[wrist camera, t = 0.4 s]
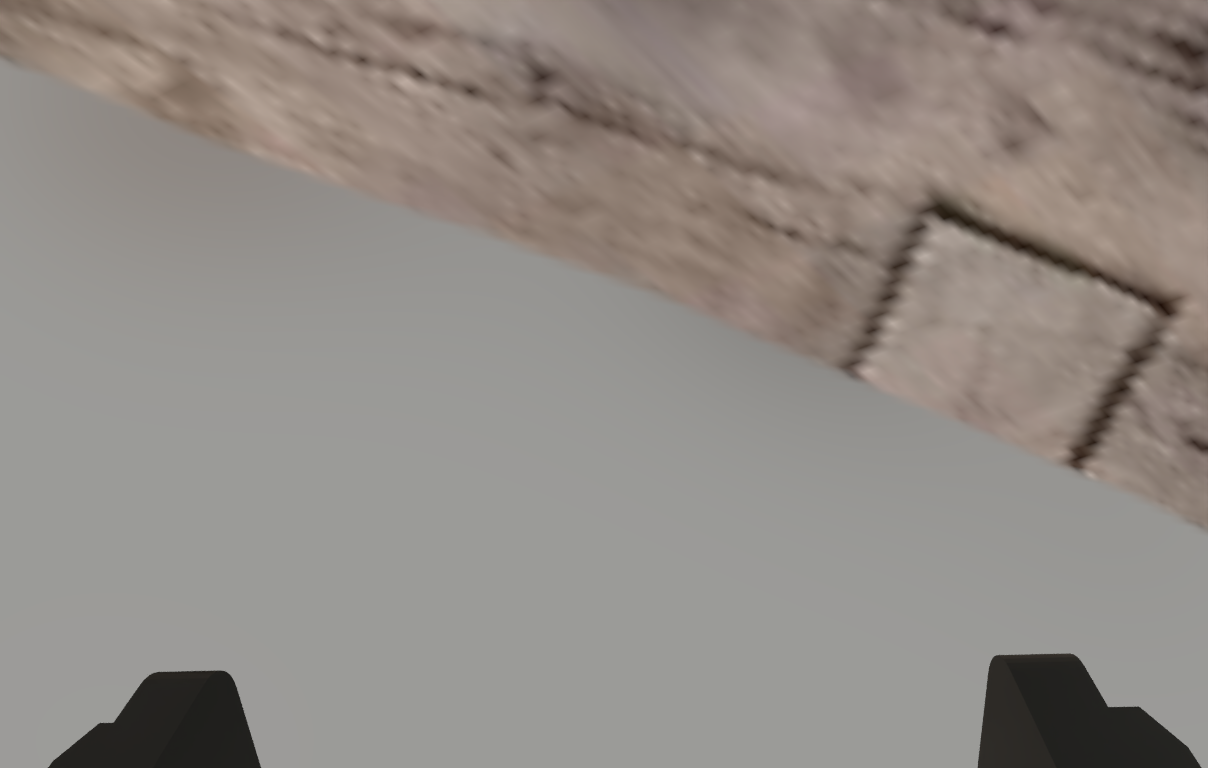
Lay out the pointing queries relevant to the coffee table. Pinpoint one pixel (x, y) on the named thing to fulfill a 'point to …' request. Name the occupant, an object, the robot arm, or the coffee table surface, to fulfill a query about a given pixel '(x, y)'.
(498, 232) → the coffee table surface
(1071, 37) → the coffee table surface
